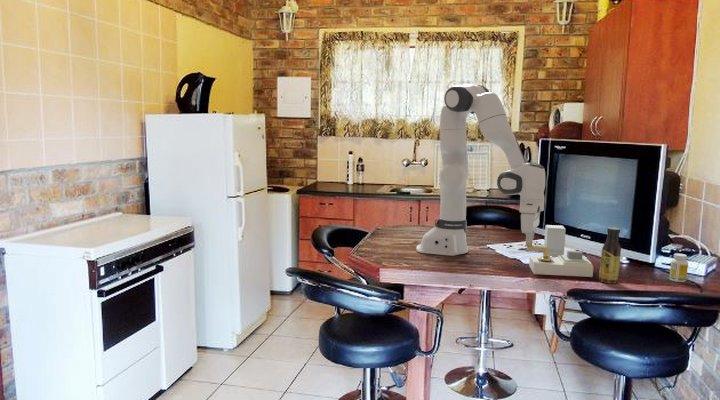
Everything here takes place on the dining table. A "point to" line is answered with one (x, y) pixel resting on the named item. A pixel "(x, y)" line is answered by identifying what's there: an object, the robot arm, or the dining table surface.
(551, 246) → the supplement box
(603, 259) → the sauce bottle
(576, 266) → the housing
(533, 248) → the brass crank key
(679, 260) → the supplement bottle
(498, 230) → the dining table surface
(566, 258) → the sage cover
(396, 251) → the dining table surface
